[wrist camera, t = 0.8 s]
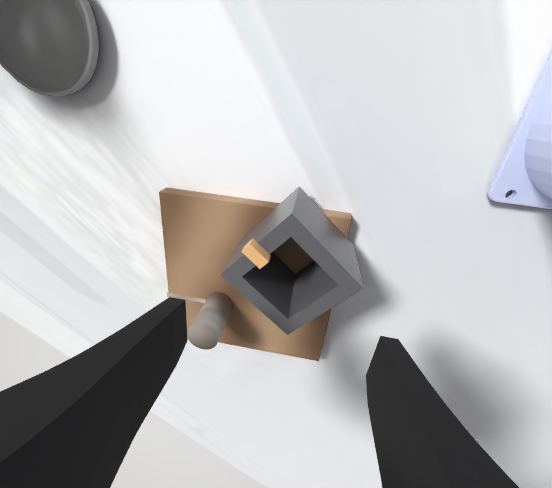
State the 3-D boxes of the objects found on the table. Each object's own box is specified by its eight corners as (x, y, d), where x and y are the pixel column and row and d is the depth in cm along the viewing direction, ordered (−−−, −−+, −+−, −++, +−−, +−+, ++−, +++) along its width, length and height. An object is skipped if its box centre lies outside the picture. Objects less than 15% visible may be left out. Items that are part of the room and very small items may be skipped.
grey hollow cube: (354, 245, 18) (365, 295, 13) (294, 287, 20) (286, 343, 15) (296, 182, 16) (285, 212, 12) (239, 234, 18) (211, 277, 14)
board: (350, 213, 18) (358, 245, 14) (318, 351, 23) (317, 402, 19) (165, 187, 19) (122, 210, 15) (177, 324, 24) (148, 368, 20)
